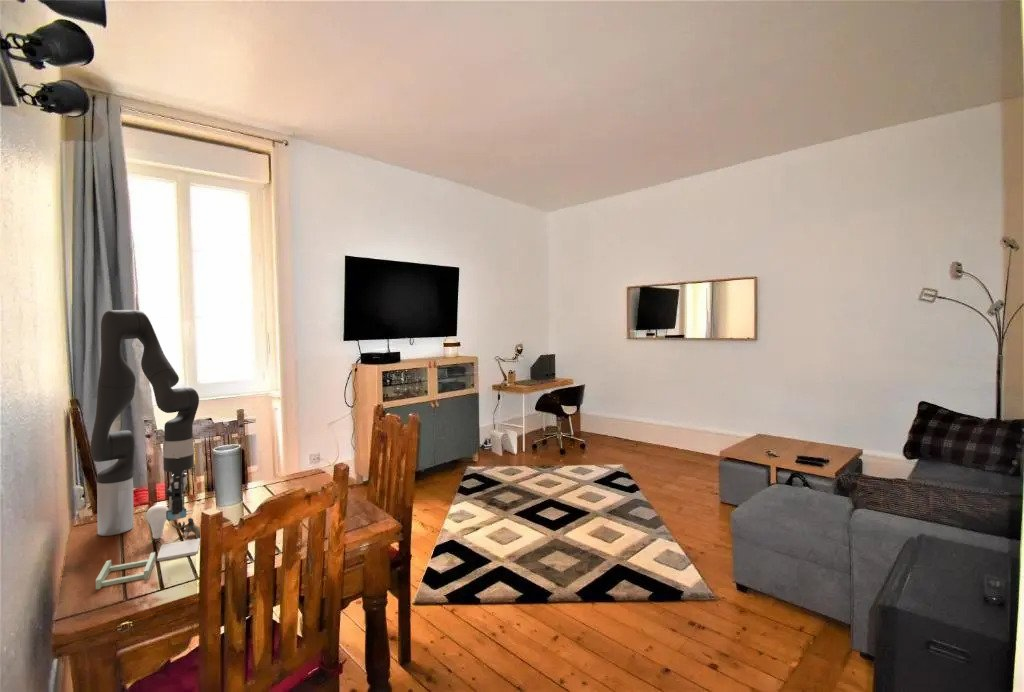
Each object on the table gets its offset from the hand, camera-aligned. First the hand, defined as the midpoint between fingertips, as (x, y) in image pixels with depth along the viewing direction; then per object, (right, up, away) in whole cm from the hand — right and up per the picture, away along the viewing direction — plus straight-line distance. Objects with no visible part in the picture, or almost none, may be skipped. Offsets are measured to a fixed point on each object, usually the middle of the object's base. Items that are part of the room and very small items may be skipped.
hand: (179, 508), depth 145 cm
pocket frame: (-5, -13, -14) cm, 20 cm away
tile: (0, -13, +1) cm, 13 cm away
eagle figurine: (-3, -13, +11) cm, 17 cm away
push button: (0, -3, 0) cm, 3 cm away
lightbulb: (-13, -13, +8) cm, 20 cm away
